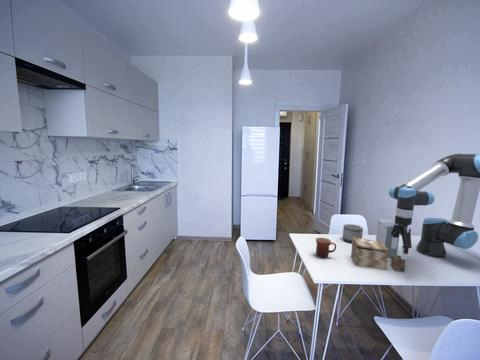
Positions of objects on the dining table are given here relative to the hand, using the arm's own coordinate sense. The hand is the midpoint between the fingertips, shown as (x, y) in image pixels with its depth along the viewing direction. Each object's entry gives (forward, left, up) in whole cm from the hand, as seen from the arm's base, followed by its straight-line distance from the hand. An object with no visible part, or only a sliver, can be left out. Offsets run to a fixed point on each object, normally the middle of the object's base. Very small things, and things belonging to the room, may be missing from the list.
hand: (398, 253), depth 131 cm
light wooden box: (+14, -4, -9) cm, 17 cm away
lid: (+14, -4, +2) cm, 14 cm away
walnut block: (0, 0, -9) cm, 9 cm away
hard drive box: (-1, -22, -10) cm, 24 cm away
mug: (+38, -5, -10) cm, 39 cm away
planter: (+16, -37, -10) cm, 41 cm away
